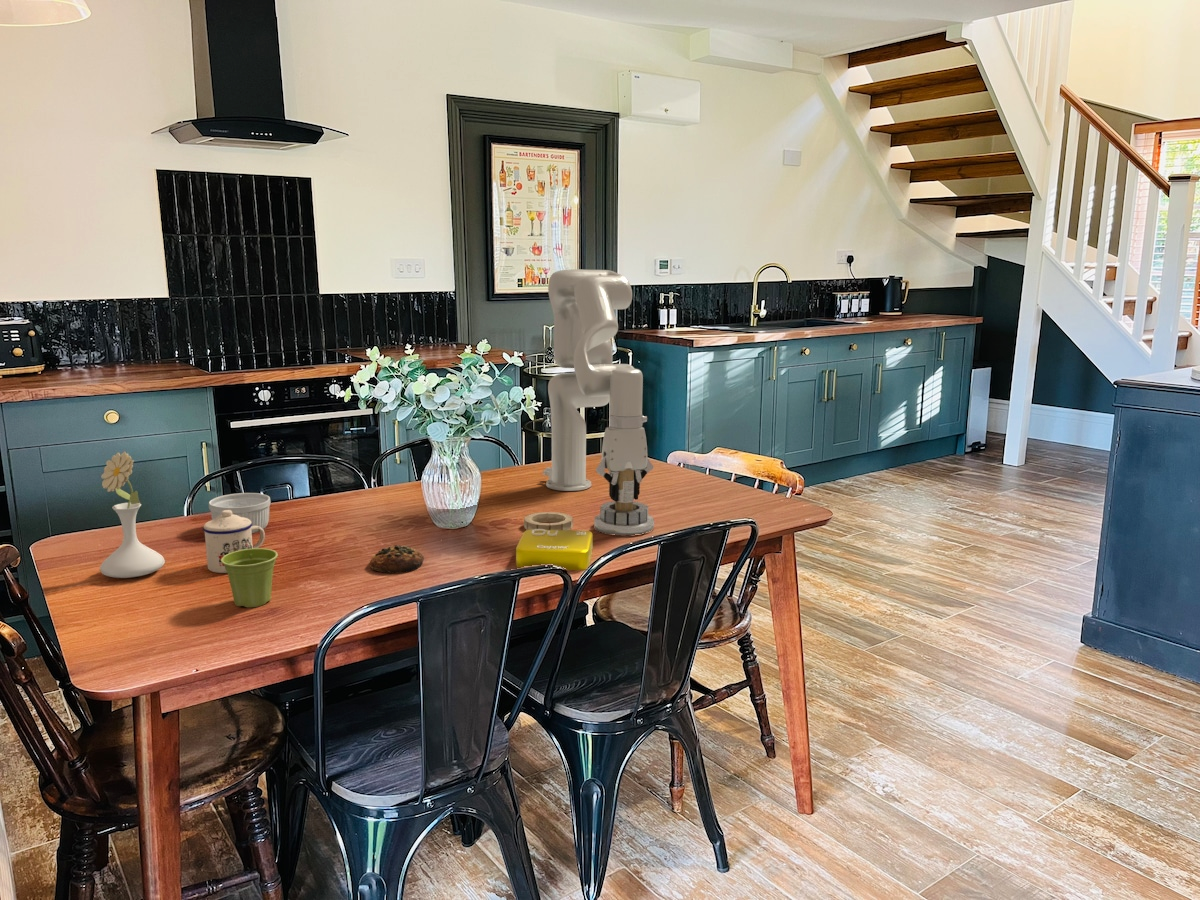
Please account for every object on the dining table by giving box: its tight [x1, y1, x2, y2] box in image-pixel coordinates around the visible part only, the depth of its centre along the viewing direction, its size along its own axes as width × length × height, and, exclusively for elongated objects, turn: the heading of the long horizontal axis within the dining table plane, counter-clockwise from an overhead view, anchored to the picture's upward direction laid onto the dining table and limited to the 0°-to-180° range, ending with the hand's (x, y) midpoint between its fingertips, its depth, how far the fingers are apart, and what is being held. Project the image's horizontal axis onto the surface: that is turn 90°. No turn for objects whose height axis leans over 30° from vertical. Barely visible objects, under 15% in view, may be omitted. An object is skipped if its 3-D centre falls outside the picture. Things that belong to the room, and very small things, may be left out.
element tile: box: [515, 529, 594, 571], centre depth 185 cm, size 15×15×5 cm
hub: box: [593, 500, 655, 535], centre depth 207 cm, size 14×14×5 cm
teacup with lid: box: [202, 510, 266, 574], centre depth 178 cm, size 12×9×12 cm
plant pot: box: [221, 547, 279, 608], centre depth 159 cm, size 9×9×9 cm
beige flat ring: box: [523, 511, 574, 531], centre depth 208 cm, size 11×11×2 cm
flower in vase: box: [99, 451, 166, 579], centre depth 171 cm, size 13×11×25 cm
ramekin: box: [208, 492, 272, 534], centre depth 203 cm, size 13×13×7 cm
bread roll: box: [369, 544, 425, 574], centre depth 180 cm, size 11×11×5 cm
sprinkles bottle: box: [615, 462, 635, 511], centre depth 206 cm, size 5×5×13 cm
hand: (624, 498), depth 207 cm, fingers closed on sprinkles bottle, 4 cm apart
